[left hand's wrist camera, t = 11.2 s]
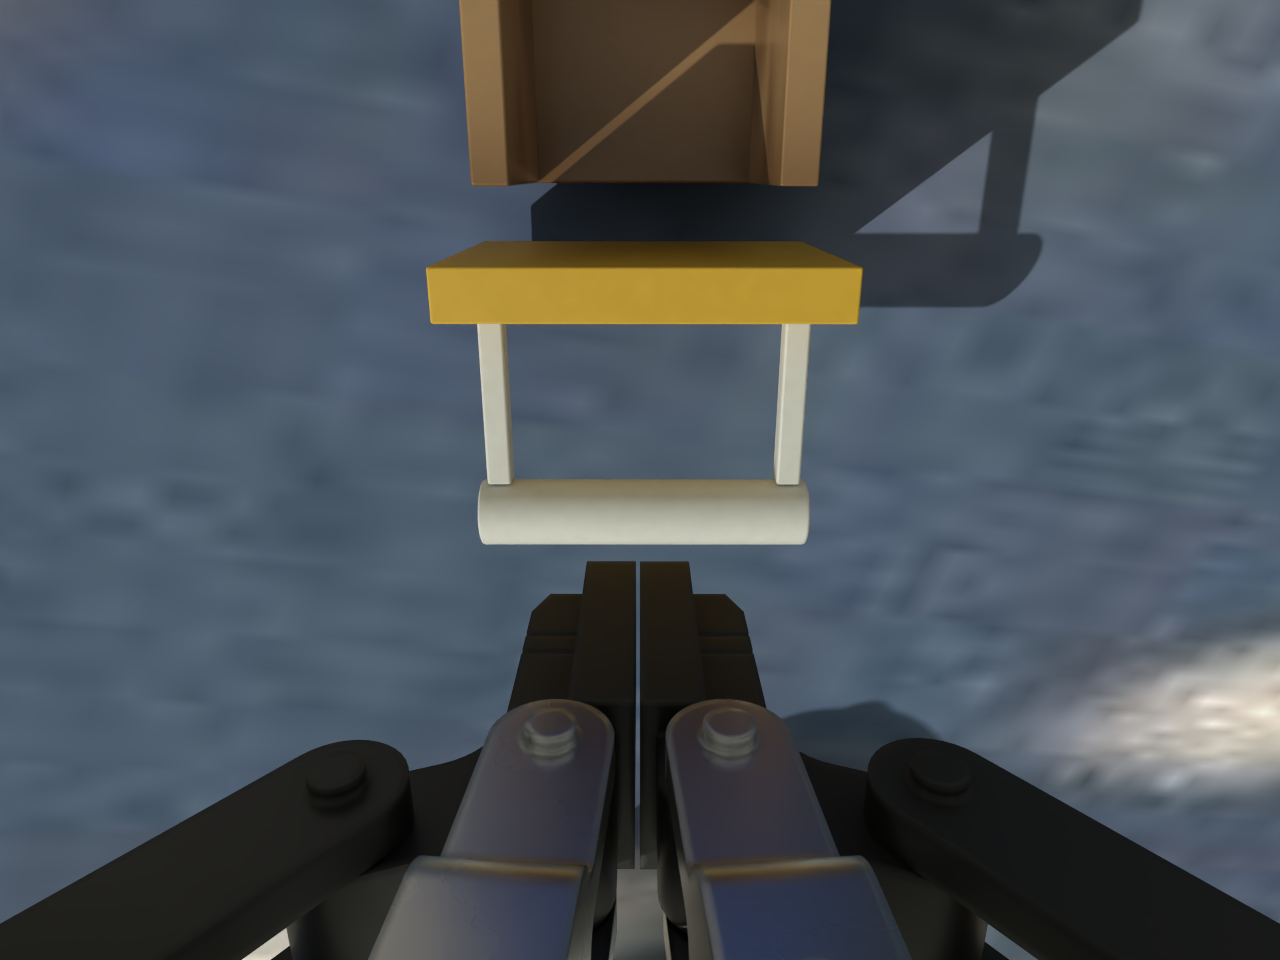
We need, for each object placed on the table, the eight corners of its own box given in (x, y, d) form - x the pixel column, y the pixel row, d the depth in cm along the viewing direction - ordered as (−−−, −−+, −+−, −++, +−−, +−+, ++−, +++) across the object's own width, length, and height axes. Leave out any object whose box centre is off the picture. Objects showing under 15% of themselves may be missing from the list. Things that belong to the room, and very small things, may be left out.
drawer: (787, 474, 27) (836, 573, 20) (498, 474, 27) (451, 573, 20) (846, -418, 19) (953, -727, 13) (443, -418, 19) (340, -728, 13)
